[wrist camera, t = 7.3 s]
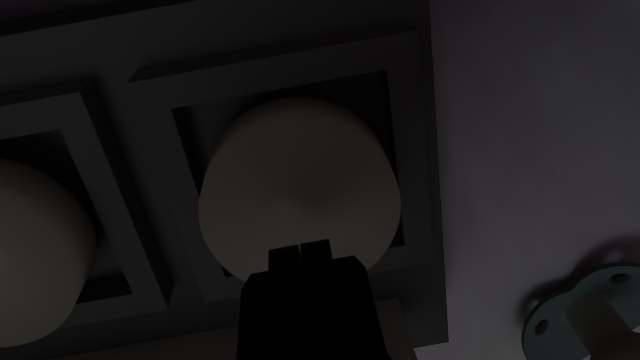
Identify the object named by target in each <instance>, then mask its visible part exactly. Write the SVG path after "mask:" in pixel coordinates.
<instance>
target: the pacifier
mask: <svg viewBox="0 0 640 360" xmlns="http://www.w3.org/2000/svg"><path fill="white" fill-rule="evenodd" d="M620 273H625V274H627V276H619V277H615V278H611V276H613V275H615V274H620ZM544 319H546V321H545V323H544V324H543V326H542V328H541V329H540V330H539V331H535V327H536V325H537V324H538V323H539V322H540V321H541V320H544ZM639 325H640V264H636V263H629V262H617V263H609V264H603V265H600V266H598V267H595V268H592V269H590V270H589V271H587V272H585V273H584V274H582V275H581V276H580V277H578V278H576V279H574V280H572V281H570V282H568V283H567V284H565V285H564V286H562V287H561V288H560V289H559V290H557V291H556V292H555V293H553V294H551V295H549V296H547V297H545V298H544V299H542V300H541V301H540V302H539V303H538V304H537V305H536V306H535V307H534V308H533V309H532V310H531V312H530V313H529V315H528V317H527V318H526V320H525V323H524V326H523V330H522V338H521V342H522V349H523V352H524V354H525V357H526V359H527V360H581V359H583V358H585V357H586V356H588V355H591V358H590V360H640V333H637V332H633V331H632V330H633V329H634V328H636V327H638V326H639Z"/></svg>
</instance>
